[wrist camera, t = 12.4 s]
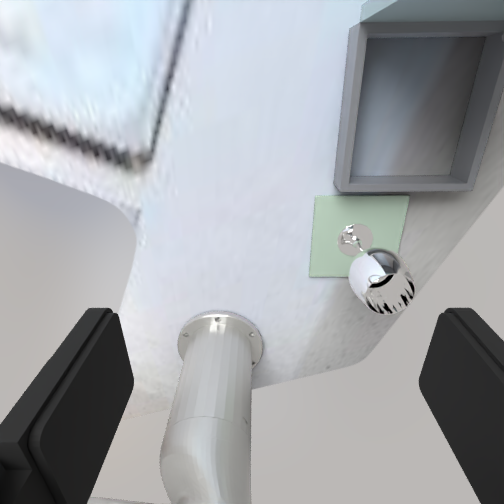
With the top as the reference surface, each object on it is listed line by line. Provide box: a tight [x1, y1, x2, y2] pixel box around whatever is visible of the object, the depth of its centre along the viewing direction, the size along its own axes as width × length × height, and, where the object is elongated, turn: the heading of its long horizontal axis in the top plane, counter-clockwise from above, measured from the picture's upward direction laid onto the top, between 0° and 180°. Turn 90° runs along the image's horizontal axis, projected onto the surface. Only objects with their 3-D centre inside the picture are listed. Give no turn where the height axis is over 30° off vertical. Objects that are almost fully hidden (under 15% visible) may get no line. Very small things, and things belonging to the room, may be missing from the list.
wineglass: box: [337, 224, 416, 315], centre depth 36 cm, size 6×6×12 cm
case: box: [334, 0, 504, 192], centre depth 26 cm, size 16×14×18 cm
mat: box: [309, 195, 410, 277], centre depth 41 cm, size 11×11×1 cm
